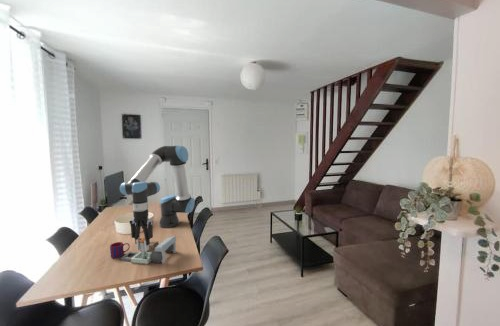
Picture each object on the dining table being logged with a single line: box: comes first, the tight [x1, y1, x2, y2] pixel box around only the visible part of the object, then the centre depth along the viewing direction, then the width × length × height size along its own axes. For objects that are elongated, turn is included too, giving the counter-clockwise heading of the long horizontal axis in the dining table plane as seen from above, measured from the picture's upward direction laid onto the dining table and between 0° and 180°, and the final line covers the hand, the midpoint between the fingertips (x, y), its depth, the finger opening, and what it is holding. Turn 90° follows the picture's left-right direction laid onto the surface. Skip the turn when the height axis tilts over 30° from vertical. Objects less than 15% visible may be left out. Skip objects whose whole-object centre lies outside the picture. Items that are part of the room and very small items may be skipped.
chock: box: [147, 240, 160, 253], centre depth 141 cm, size 6×4×5 cm
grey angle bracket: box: [150, 234, 177, 264], centre depth 133 cm, size 14×8×10 cm, turn 169°
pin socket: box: [120, 251, 139, 262], centre depth 133 cm, size 7×7×2 cm
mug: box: [109, 241, 131, 259], centre depth 136 cm, size 7×10×7 cm
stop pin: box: [139, 236, 148, 259], centre depth 130 cm, size 4×4×12 cm
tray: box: [130, 251, 152, 265], centre depth 130 cm, size 8×10×2 cm
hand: (142, 249), depth 129 cm, fingers closed on stop pin, 4 cm apart
